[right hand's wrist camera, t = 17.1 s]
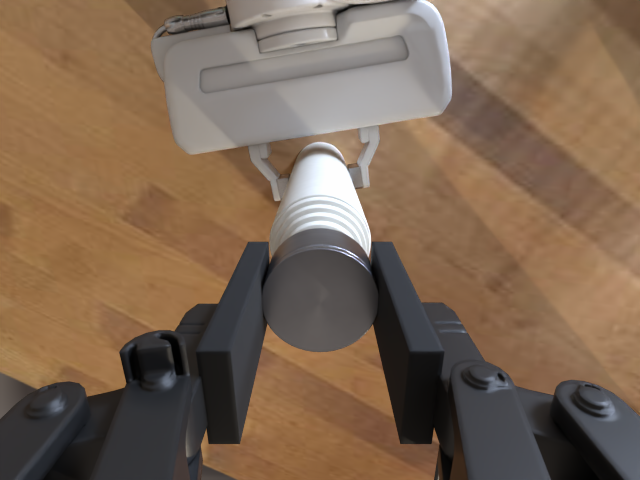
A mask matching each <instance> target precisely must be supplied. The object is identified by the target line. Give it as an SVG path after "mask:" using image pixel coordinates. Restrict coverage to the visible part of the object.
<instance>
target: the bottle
mask: <svg viewBox="0 0 640 480" xmlns="http://www.w3.org/2000/svg"><path fill="white" fill-rule="evenodd" d="M313 228H327V229H332V230H336V231H339V232H342V233H344V234H346V235H348V236H350V237H351V238H353V239H354V240H355V241H356V242H358V243H359V244H360V246H361V247H362V248H363V249H364V251H365V252H366V254H367V256H369V252H370V246H371V236H370V230H369V227H368V224H367V221H366V218H365V216H364V213H363V210H362V207H361V205H360V202H359V199H358V196H357V194H356V191H355V188H354V185H353V183H352V180H351V177H350V174H349V172H348V169H347V166H346V163H345V161H344V158H343V156H342V154H341V153H340V151H339V150H338V149H337V148H336V147H334V146H333V145H331V144H328V143H325V142H316V143H312V144H309V145H307V146H306V147H305V148H303V149H302V150H301V152H300V153H299V155H298V156H297V159H296V161H295V164H294V167H293V170H292V173H291V175H290V178H289V181H288V184H287V186H286V189H285V192H284V195H283V197H282V200H281V203H280V206H279V208H278V211H277V214H276V217H275V220H274V222H273V225H272V228H271V232H270V250H271V255H272V257H273V255H274V253H275V251H276V250H277V248H278V247H279V246H280V245H281V244H282V243H283V242H284V241H285V240H286V239H288V238H289V237H291V236H292V235H294V234H296V233H298V232H301V231H304V230H308V229H313Z"/></svg>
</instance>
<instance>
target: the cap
mask: <svg viewBox="0 0 640 480" xmlns="http://www.w3.org/2000/svg"><path fill="white" fill-rule="evenodd" d="M378 296H379V291H378V287H377V284H376V280H375V277H374V274H373V270H372V267H371V264H370V260H369V258H368V256H367V254H366V252H365V251H364V249H363V248H362V247H361V246H360V244H359V243H358V242H356V241H355V240H354V239H353V238H351V237H350V236H348V235H346V234H344V233H342V232H339V231H336V230H332V229H327V228H313V229H308V230H304V231H301V232H298V233H296V234H294V235H292V236H291V237H289V238H288V239H286V240H285V241H284V242H283V243H282V244H281V245H280V246H279V247H278V248H277V250H276V251H275V253H274V255H273V257H272V259H271V262H270V265H269V268H268V272H267V275H266V279H265V282H264V285H263V289H262V308H263V314H264V317H265V319H266V322H267V323H268V325H269V326H270V328H271V329H272V330H273V332H274V333H275V334H276V335H277V336H278V337H279V338H281V339H282V340H283V341H285V342H286V343H288V344H290V345H292V346H294V347H296V348H299V349H303V350H307V351H312V352H328V351H334V350H338V349H341V348H344V347H347V346H349V345H351V344H352V343H354V342H356V341H357V340H359V339H360V338H361V337H362V336H363V335H364V334H365V333H366V332H367V331H368V330H369V329H370V327H371V326H372V324H373V323H374V320H375V318H376V316H377V312H378Z"/></svg>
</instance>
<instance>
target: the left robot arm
mask: <svg viewBox="0 0 640 480" xmlns="http://www.w3.org/2000/svg"><path fill="white" fill-rule="evenodd" d="M226 3H227V5H226V6H225V7H219V8H215V9H210V10H205V11H201V12H198V13H195V14H192V15H187V16H183V15H176V16H172V17H169V18H167V19H165V21H164V24H165V25H163V26H161V27H160V28H158V30H157V31H156V32H155V34H154V36H153V38H152V41H151V51H152V55H153V59H154V62H155V66H156V69H157V72H158V74H159V76H160V78H161V80H162V81H163V82H164V85H165V94H166V102H167V108H168V114H169V119H170V124H171V129H172V133H173V137H174V140H175V143H176V144H177V145H178V146H179V147H180V148H181V149H182V150H184V151H185V152H186V153H187V154H190V155H193V154H199V153H206V152H212V151H218V150H224V149H231V148H237V147H243V146H248V150H249V154H250V159H251V162H252V163H253V164H254V165H255V166H256V167H257V168H258V169H259V171H260V172H261V173H262V174H263V175H264V176H265V177H266V179H267V180H268V181H269V180H270V183H271V188H272V193H273V198H274V201H281V200H282V197H283V195H284V192H285V189H286V186H287V184H288V181H289V178H290V174H282V175H280V173H279V172H278V171H277V170H276V169H275V167H274V166H273V165H272V164H271V162H270V161H269V160H268V159H267V158H268V157H269V155H270V154H271V153H272V151H271V146H270V142H275V141H281V140H287V139H293V138H300V137H306V136H312V135H318V134H325V133H331V132H337V131H343V130H350V129H356V128H357V130H358V137H359V140H360V141H361V142H362V143H365V144H364V146H363V149H362V151H361V154H360V156H359V158H358V161H357V163H353V164H348V165H347V167H348V172H349V174H350V177H351V180H352V183H353V185H354V188H355V189H360V188H366V187H369V174H368V165H369V164H370V162H371V160H372V157H373V155H374V153H375V151H376V148H377V146H378V144H379V142H380V137H379V126H378V125H381V124H387V123H393V122H400V121H406V120H412V119H418V118H425V117H431V116H437V115H440V114H442V113H443V111H444V110H445V108H446V107H447V105H448V104H449V102H450V100H451V97H452V81H451V68H450V59H449V51H448V45H447V39H446V33H445V28H444V24H443V21H442V18H441V16H440V14H439V12H438V10H437V9H436V8H435V7H434V6H433V5H432V4H431V3H430V2H428V1H426V0H226ZM201 29H202V30H201ZM194 30H197V31H194ZM166 31H167V32H168V34H170V35H169V36H163V37H161V35H162V34H163V33H165V32H166ZM189 31H191V32H189Z"/></svg>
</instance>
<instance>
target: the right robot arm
mask: <svg viewBox="0 0 640 480" xmlns="http://www.w3.org/2000/svg"><path fill="white" fill-rule="evenodd" d="M269 265H270V264H269V244H268V242H248V244H247V246H246V248H245V250H244V252H243V254H242V256H241V258H240V260H239V262H238V264H237V267H236V269H235V271H234V273H233V275H232V277H231V279H230V281H229V283H228V285H227V287H226V289H225V291H224V294H223V296H222V298H221V300H220V302H219V304H197V305H196V306H195V307H193V308H192V309H190V310H189V311H188V312H186V314H185V315H184V317H183V318H182V320H181V322H180V325H178V327H177V328H176V330H175V332H174V331H170V330H158V331H153V332H149V333H145V334H143V335H140V336H138V337H135V338H134V339H132V340H131V341H129V342H128V343H126V344H125V345H124V347H123V348H122V349H121V350H120V352H119V353H120V357H121V361H122V366H123V370H124V374H125V379H126V386H125V388H122V389H118V390H115V391H111V392H107V393H102V394H98V395H93V396H89V397H87V395H86V392H85V388H84V387H82V386H81V385H80V384H79V383H74V382H59V383H54V384H51V385H48V386H45V387H42V388H40V389H38V390H36V391H34V392H32V393H30V394H28V395H27V396H26V397H24V398H23V399H22V400H20V401H19V402H18V403H17V404H16V405H14V406H13V407H12V408H11V409H10V410H9V411H8V412H7V413H6V414H5V415H4V416H3V417H2V418H1V419H0V480H201V474H202V463H203V458H202V451H201V443H202V440H203V437H204V434H205V431H206V428H207V435H208V442H209V444H240V441H241V437H242V432H243V428H244V423H245V419H246V415H247V410H248V406H249V402H250V397H251V393H252V388H253V384H254V380H255V375H256V371H257V367H258V362H259V358H260V353H261V349H262V345H263V340H264V336H265V331H266V327H267V322H266V319H265V317H264V314H263V308H262V289H263V285H264V282H265V279H266V275H267V272H268V268H269ZM371 267H372V270H373V274H374V277H375V280H376V284H377V287H378V291H379V296H378V312H377V316H376V318H375V320H374V323H373V326H374V330H375V335H376V339H377V344H378V348H379V352H380V357H381V361H382V365H383V370H384V374H385V379H386V383H387V387H388V392H389V396H390V400H391V405H392V409H393V414H394V418H395V422H396V427H397V431H398V435H399V440H400V444H432V437H433V430H434V428H435V431H436V434H437V437H438V440H439V443H440V445H439V451H438V458H437V465H436V471H435V478H434V480H640V416H639V415H638V414H637V413H635V412H634V411H633V410H632V409H631V408H630V407H629V406H628V405H627V404H626V403H625V402H624V401H623V400H621V399H620V398H619V397H617V396H616V395H615V394H614V393H612V392H610V391H608V390H606V389H604V388H602V387H600V386H598V385H595V384H592V383H588V382H585V381H577V380H569V381H564V382H561V383H560V384H559V385H558V386H557V387H556V389H555V393H554V395H550V394H545V393H541V392H536V391H532V390H527V389H524V388H520V387H517V386H515V385H514V383H513V381H512V380H511V378H510V377H509V375H508V374H507V373H505V372H504V371H503V370H502V369H500V368H499V367H497V366H495V365H493V364H490V363H488V362H485V360H484V359H483V357H482V356H481V354H480V352H479V351H478V349H477V347H476V346H475V344H474V343H473V341H472V339H471V338H470V336H469V334H468V333H466V330H465V328H464V326H463V325H462V324H461V321H460V320H459V318H458V317H457V315H456V313H455V312H454V311H453V310H452V309H450V308H449V307H448V306H446V305H445V304H443V303H421V301H420V299H419V297H418V295H417V293H416V291H415V289H414V287H413V285H412V283H411V281H410V278H409V276H408V274H407V272H406V270H405V268H404V266H403V264H402V262H401V260H400V258H399V256H398V254H397V252H396V249H395V247H394V245H393V243H392V242H372V249H371Z"/></svg>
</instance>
